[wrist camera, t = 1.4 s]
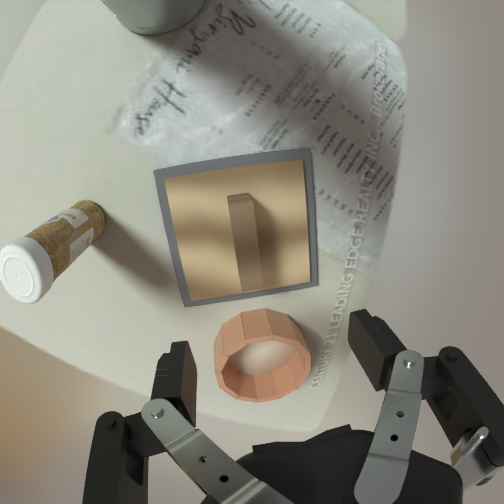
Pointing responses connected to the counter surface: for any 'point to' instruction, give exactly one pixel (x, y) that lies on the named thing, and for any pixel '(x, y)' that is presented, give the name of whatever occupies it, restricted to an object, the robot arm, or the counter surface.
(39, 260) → the sprinkles bottle
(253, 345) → the terracotta ring
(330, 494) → the robot arm
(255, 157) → the rubber mat
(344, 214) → the counter surface
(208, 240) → the board
